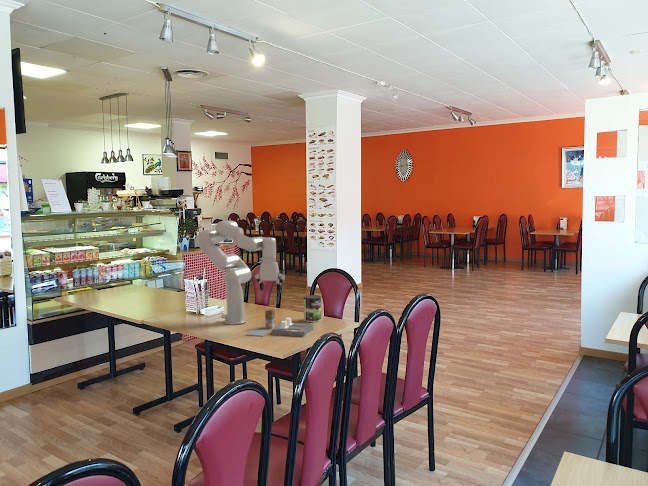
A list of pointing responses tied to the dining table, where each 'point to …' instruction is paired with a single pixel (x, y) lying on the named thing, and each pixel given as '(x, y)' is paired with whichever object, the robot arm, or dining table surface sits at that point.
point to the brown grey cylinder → (270, 318)
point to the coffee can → (312, 308)
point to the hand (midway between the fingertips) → (270, 290)
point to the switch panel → (293, 329)
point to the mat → (257, 332)
